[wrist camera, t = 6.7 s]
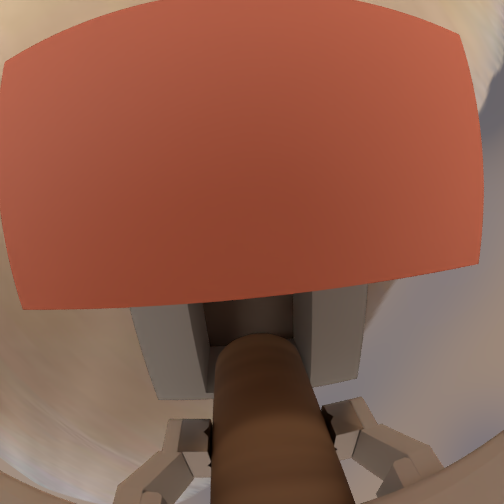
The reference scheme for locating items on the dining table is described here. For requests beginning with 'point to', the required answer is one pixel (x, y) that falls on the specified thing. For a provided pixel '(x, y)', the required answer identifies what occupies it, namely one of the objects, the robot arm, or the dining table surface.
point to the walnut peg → (270, 429)
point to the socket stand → (238, 170)
